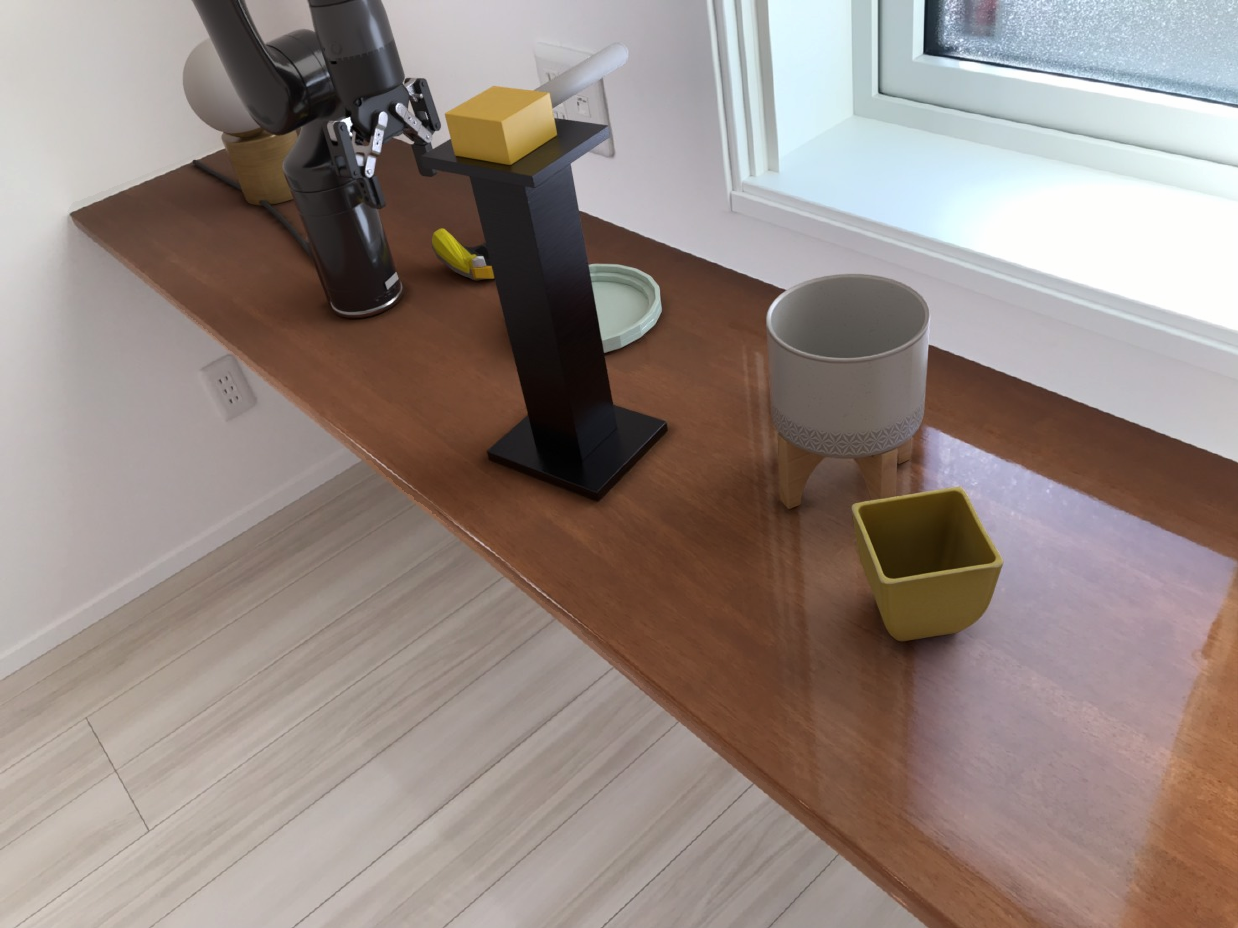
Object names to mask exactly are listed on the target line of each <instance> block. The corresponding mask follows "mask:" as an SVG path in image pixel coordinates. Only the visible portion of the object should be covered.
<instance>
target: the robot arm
mask: <svg viewBox="0 0 1238 928" xmlns="http://www.w3.org/2000/svg"><path fill="white" fill-rule="evenodd" d="M191 2H192V4H193V6H194V8H195V10H196V12H197V14H198V16H199V19H200V20H201V22H202V25H203V27H204V28H205V30H206V33H207V35H208V38H210V39H211V41H212V43H213V46H214V48H215V50H216V52H217V54H218V56H219V58H220V61H221V63H222V65H223V67H224V69H225V71H226V73H227V75H228V77H229V80H230V82H231V84H232V86H233V88H234V90H235V92H236V93H237V95H238V97H239V99H240V101H241V103H242V104H243V106H244V108H245V109H246V110H247V112H248V113H249V115H250V116H251V117H252V119H253V120H254V121H255V122H256V123H257V124H258V125H259V126H260V127H261V128H262V129H263V130H265V131H266V132H268V133H270V134H272V135H276V136H282V135H285V134H288V133H290V132H292V131H294V130H296V131H297V130H299V129H300V131H299V134H298V138H297V140H296V142H295V143H294V145H293V147H292V148H291V149H290V151H289V152H288V153H287V155H286V156H285V158H284V160H283V172H284V175H285V178H286V181H287V184H288V186H289V189H290V191H291V194H292V197H293V199H292V200H293V202H294V204H295V207H296V210H297V213H298V216H299V219H300V221H301V224H302V227H303V229H304V232H305V234H306V238H305V240H304V238H303V237H302V236H301V234H300V233H299V232H298V231H297V230H296V228H295V227H293V225H292V224H291V223H290V222H289V221H288V220H287V219H286V217H284V216H283V214H281V213H280V212H279V211H278V210H276V208H274V207H273V205H269V204H268V203H267V202H266V201H264V200H260V201H259V203H260V204H261V205H260V206H263V207H264V208H265V209H266V210H267V211H268V212H270V214H272V215H273V216H274V217H275V218H276V219H277V220H279V222H280V223H281V224H282V225H283V226H284V227H285V228H286V229H287V230H288V231H289V233H290V235H292V236H293V238H294V239H295V240H296V241H297V242H298V244H299V245H300V246H301V248H302V249H303V250H304V252H305V253H306V254H307V255H308V256H309V257H310V258H311V261H312V262H313V266H314V269H315V271H316V274H317V276H318V279H319V282H320V284H321V287H322V290H323V292H324V295H325V298H326V300H327V303H328V305H330V306H331V308H332V311H333V312H334V314H335V315H337V316H339V317H341V318H344V319H345V318H346V319H363V318H369V317H372V316H376V315H378V314H381V313H384V312H386V311H387V310H389V309H391V308H393V307H394V306H395V305H396V304H398V303H399V302H400V301H401V300H402V298H403V296H404V293H405V290H404V287H403V284H402V281H401V280H400V277H399V273H398V270H397V267H396V265H395V264H396V263H395V260H394V257H393V254H392V251H391V248H390V244H389V241H388V238H387V234H386V231H385V228H384V225H383V221H382V218H381V215H380V212H379V210H381V209H383V208H386V206H387V203H386V199H385V197H384V194H383V193H384V192H383V191H382V188H381V184H380V182H379V179H378V176H377V174H375V169H376V168H375V167H376V163H377V158H378V157H379V156H380V155H381V152H382V145H386V144H387V143H389V142H390V141H391V140H392V139H393V138H395V137H400V136H401V135H404V136H405V137H406V138H407V139H409V141H411V142H413V143H411V144H410V147H411V150H412V153H413V156H414V159H415V162H416V166H417V169H418V173H419V174H420V175H421V177H426V178H427V177H428V178H432V177H434V176H436V175H438V170H434V169H428V168H424V167H423V164H422V161H421V156H422V155H424V154H425V153H427V152H429V151H431V150H432V149H434V148H433V145H432V140H433V135H434V134H435V133H436V132H440V130H441V129H442V122H441V119H440V117H439V114H438V110H437V107H436V104H435V102H434V99H433V95H432V92H431V88H430V86H429V83H428V80H427V79H426V78H424V77H406V74H405V70H404V68H403V64H402V61H401V58H400V57H401V56H400V54H399V51H398V47H397V44H396V41H395V37H394V33H393V30H392V27H391V23H390V20H389V17H388V13H387V11H386V8H385V5H384V3H383V1H382V0H306V2H307V5H308V9H309V12H310V17H311V24H312V28H313V30H312V29H309V28H298V29H295V30H292V31H288V32H286V33H285V34H282V35H280V36H278V37H276V38H273V39H271V40H269V41H267V42H264V40H263V38H262V36H261V34H260V32H259V30H258V28H257V26H256V24H255V21H254V20H253V18H252V17H253V16H252V15H251V13H250V9H249V7H248V4H247V2H246V0H191ZM409 105H411V109H412V111H413V113H412V112H411V111H410V110H409ZM364 141H365V142H366V143H369V144H368V145H364ZM192 164H193V165H194V166H196V167H198V168H200V169H202V170H203V171H205V172H206V173H208V174H210V175H212V176H214V177H216V178H217V179H219V180H221V181H223V182H225V183H226V184H228V185H230V186H232V187H234V188H235V189H237V190H239V191H240V192H242V189H241V187H240V184H239V182H236V181H235V180H233V179H230V178H229V177H227V176H226V175H223V174H221V173H219V172H218V171H216V170H214V169H212V168H210V167H209V166H207V165H206V164H204V163H202V162H200V161H198V160H197V159H192Z"/></svg>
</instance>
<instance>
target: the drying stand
mask: <svg viewBox="0 0 1238 928" xmlns="http://www.w3.org/2000/svg"><path fill="white" fill-rule="evenodd" d="M554 120H555V125H556V131H557V136H555V137H553V138H552V139H550V140H549V141H547V142H546V143H544V144H543V145H541V146H539V147H538V148H536V149H535V150H533V151H532V152H530V153H529V154H527V155H526V156H524V157H522V158H521V159H519V160H518V161H516V162H515V163H513V164H512V165H506V164H500V163H495V162H489V161H483V160H477V159H472V158H466V157H460V156H455V154H454V150H453V146H452V142H451V138H449V139H447V140H445V141H444V142H442V143H440V144H439V145H437V146H436V147H434V148H433V149H432V150H431V151H429V152H427V153H425V154H424V155H422V156H421V161H422V164H423V167H424V168H428V169H434V170H437V171H440V172H444V173H445V172H446V173H451V174H454V175H455V174H456V175H460V176H461V175H462V176H466V177H469V180H470V185H471V189H472V193H473V196H474V201H475V205H476V208H477V213H478V217H479V221H480V225H481V229H482V233H483V239H484V243H486V246H487V250H488V254H489V258H490V262H491V266H492V270H493V275H494V278H493V279H494V282H495V287H496V290H497V294H498V299H499V303H500V307H501V311H502V315H503V319H504V323H505V328H506V332H507V335H508V340H509V344H510V348H511V352H512V355H513V360H514V364H515V369H516V372H517V376H518V381H519V385H520V388H521V393H522V396H523V400H524V404H525V409H526V412H527V415H526V416H525V417H523V418H522V419H521V420H520V421H519V422H517V424H515V425H514V426H513V427H511V429H510V430H509V431H508V432H506V433H505V434H504V435H503V436H502V437H501V438H500V439H499V440H497V441H496V442H495V443H494V444H492V446H491V447H489V448H488V449H487V450H486V454H487V458H488V461H491V462H492V463H496V464H498V465H501V466H504V467H506V468H509V469H512V470H514V471H517V472H518V473H519V472H520V473H522V474H524V475H527V476H530V477H532V478H535V479H538V480H541V481H543V482H545V483H548V484H551V485H554V486H556V487H559V488H561V489H564V490H566V491H569V492H572V493H574V494H577V495H580V496H583V497H585V498H587V499H590V500H593V501H596V502H601V500H602V499H603V498H604V497H605V496H606V495H607V494H608V493H609V492H610V491H611V490H612V488H613V487H614V486H615V485H617V483H619V481H621V480H622V479H623V478H624V476H625V475H626V474H627V473H628V472H629V471H630V470H631V469H632V468H634V466H635V465H636V464H637V463H638V462H639V461H640V460H641V459H642V458H643V457H644V456H645V455H646V454H647V453H648V452H649V451H650V450H651V449H652V447H654V445H655V444H656V443H657V442H659V441H660V440H661V439H662V438H663V436H664V435H665V434H666V433H667V432H668V431H669V429H668V422H667V421H666V420H663V419H661V418H657V417H654V416H651V415H648V414H645V413H642V412H638V411H636V410H635V411H634V410H632V409H628V408H626V407H622V406H620V405H616V404H614V400H613V395H612V389H611V384H610V378H609V373H608V366H607V361H606V356H605V353H604V349H603V343H602V338H601V332H600V326H599V321H598V315H597V309H596V304H595V298H594V292H593V287H592V281H591V275H590V270H589V265H590V264H589V259H588V254H587V248H586V242H585V237H584V231H583V225H582V219H581V215H580V208H579V203H578V198H577V196H578V195H577V191H576V186H575V181H574V174H573V169H572V163H574V162H575V161H577V160H578V159H580V158H581V157H583V156H584V155H586V154H587V153H589V152H590V151H591V150H593V149H594V148H596V147H598V146H599V145H600V144H602V143H604V142H605V141H606V140H608V139H610V137H611V133H610V126H609V124H601V123H596V122H595V123H594V122H588V121H580V120H574V119H565V118H558V117H554Z"/></svg>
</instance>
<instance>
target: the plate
mask: <svg viewBox="0 0 1238 928" xmlns="http://www.w3.org/2000/svg"><path fill="white" fill-rule="evenodd" d="M589 270H590V275H591V281H592V287H593V292H594V298H595V304H596V309H597V315H598V321H599V326H600V332H601V338H602V343H603V349H604V354H605V353H608V352H612V351H615V350H619V349H621V348H623V347H625V346H627V345H630V344H631V343H633V342H635V341H636V340H639V339H641V338H642V337H644V336H645V334H646V333H648V332H649V331H650V330H651V329H652V328H653V327H654V326H656V324H657V321H658V320H659V318H660V316H661V313H662V311H663V307H662V296H661V288H660V286H659V284H658V283H657V282H656V281H655V280H654V278H653V277H652V276H651V275H649V274H648V273H646V272H644V271H642V270H640V269H639V268H635V267H631V266H627V265H623V264H617V263H592V264H589Z"/></svg>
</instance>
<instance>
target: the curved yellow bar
mask: <svg viewBox="0 0 1238 928" xmlns="http://www.w3.org/2000/svg"><path fill="white" fill-rule="evenodd" d="M431 248H432V250H433V252H434V253H435V255H436V258H437V259H438V260H439V261H441V262H442V263H443V264H444V265H446V267H448V268H449V269H451V270H452V271H453V272H455V273H457V274H458V275H460V276H463V277H466V278H469V279H470V280H472V281H475V282H477V281H483V280H490V279H494V275H493V270H492V266H491V262H490V258H489V254H488V250H487V246H486V242H483V243H480V244H478V245H476V246H465V245H464V244H463V243H462V242H460V241H459V240H458V239H457V238H456V237H455V236H453V235H452V234H451V233H450V232H449V231H447V230H446V229H445V228H439V229H437V230H436V231H434V232H433V234H432V238H431Z"/></svg>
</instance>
